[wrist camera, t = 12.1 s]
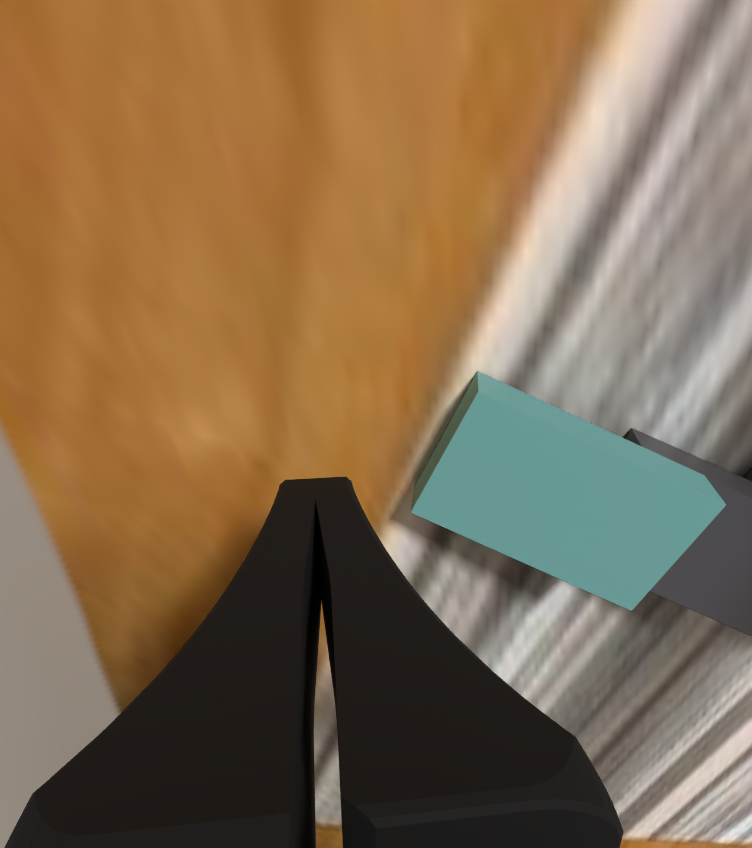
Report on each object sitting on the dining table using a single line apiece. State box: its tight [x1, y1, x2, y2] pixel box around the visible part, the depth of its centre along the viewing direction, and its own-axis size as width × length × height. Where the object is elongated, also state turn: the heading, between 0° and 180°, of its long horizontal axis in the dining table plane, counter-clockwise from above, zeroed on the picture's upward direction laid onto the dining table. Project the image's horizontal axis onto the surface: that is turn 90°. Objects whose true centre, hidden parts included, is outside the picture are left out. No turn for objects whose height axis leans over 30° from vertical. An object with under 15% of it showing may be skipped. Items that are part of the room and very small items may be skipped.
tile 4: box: [624, 428, 752, 636], centre depth 18 cm, size 2×4×8 cm
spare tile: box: [411, 371, 726, 611], centre depth 17 cm, size 2×4×8 cm
